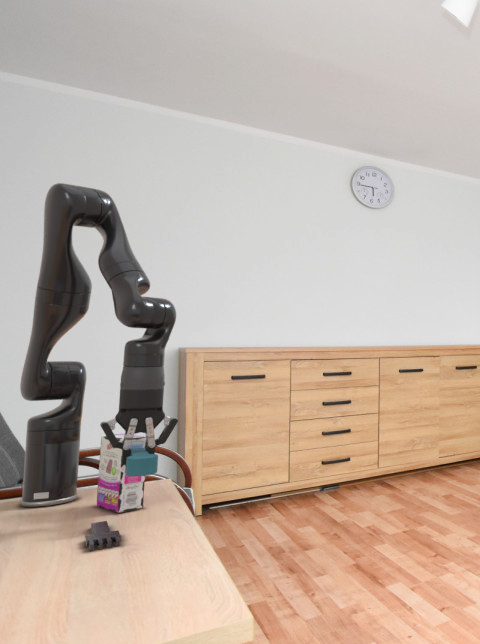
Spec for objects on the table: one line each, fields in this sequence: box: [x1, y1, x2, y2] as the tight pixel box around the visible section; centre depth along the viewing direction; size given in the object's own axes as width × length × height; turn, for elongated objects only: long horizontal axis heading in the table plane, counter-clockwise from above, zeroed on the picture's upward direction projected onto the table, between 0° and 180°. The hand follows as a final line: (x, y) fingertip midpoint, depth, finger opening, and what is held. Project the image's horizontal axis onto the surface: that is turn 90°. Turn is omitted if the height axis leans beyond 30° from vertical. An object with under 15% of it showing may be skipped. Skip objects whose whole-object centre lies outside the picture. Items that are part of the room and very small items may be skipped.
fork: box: [84, 520, 121, 552], centre depth 109 cm, size 16×5×1 cm, turn 45°
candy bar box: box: [96, 433, 147, 514], centre depth 129 cm, size 11×5×16 cm, turn 62°
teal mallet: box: [126, 448, 159, 477], centre depth 121 cm, size 14×5×4 cm, turn 45°
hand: (137, 465), depth 123 cm, fingers closed on teal mallet, 2 cm apart
